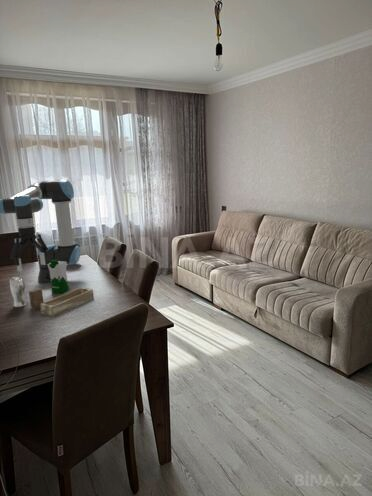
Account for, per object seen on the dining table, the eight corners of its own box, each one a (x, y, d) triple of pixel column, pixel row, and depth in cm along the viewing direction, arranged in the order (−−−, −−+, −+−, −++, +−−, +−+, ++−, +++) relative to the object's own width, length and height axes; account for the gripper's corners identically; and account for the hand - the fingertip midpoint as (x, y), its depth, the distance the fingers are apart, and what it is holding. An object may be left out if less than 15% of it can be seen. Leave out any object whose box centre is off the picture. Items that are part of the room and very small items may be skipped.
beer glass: (16, 303, 190) (12, 277, 187) (29, 302, 191) (25, 276, 187) (11, 308, 183) (6, 281, 180) (24, 307, 184) (20, 280, 180)
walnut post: (31, 309, 181) (28, 291, 178) (38, 306, 184) (36, 288, 182) (37, 310, 178) (34, 292, 176) (44, 307, 182) (41, 289, 180)
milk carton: (49, 294, 203) (45, 261, 198) (59, 288, 211) (55, 257, 206) (61, 295, 200) (57, 261, 195) (71, 290, 208) (68, 257, 204)
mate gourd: (78, 268, 255) (75, 241, 250) (59, 269, 255) (56, 242, 250) (84, 262, 270) (81, 237, 265) (66, 263, 270) (63, 238, 265)
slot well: (41, 313, 175) (39, 304, 174) (81, 295, 198) (80, 287, 197) (53, 316, 170) (52, 307, 169) (93, 298, 193) (92, 289, 192)
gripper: (7, 231, 159) (14, 275, 164) (51, 223, 180) (56, 262, 185) (-3, 230, 163) (4, 273, 168) (42, 222, 184) (47, 261, 189)
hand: (32, 267), depth 176 cm, fingers open, 13 cm apart
